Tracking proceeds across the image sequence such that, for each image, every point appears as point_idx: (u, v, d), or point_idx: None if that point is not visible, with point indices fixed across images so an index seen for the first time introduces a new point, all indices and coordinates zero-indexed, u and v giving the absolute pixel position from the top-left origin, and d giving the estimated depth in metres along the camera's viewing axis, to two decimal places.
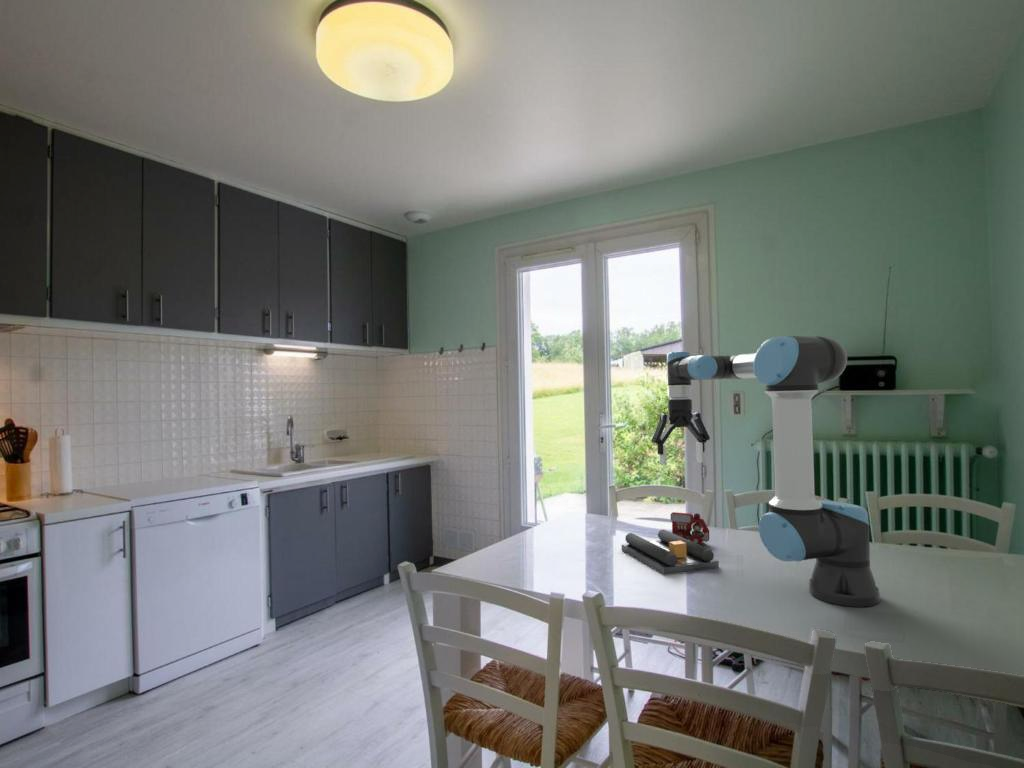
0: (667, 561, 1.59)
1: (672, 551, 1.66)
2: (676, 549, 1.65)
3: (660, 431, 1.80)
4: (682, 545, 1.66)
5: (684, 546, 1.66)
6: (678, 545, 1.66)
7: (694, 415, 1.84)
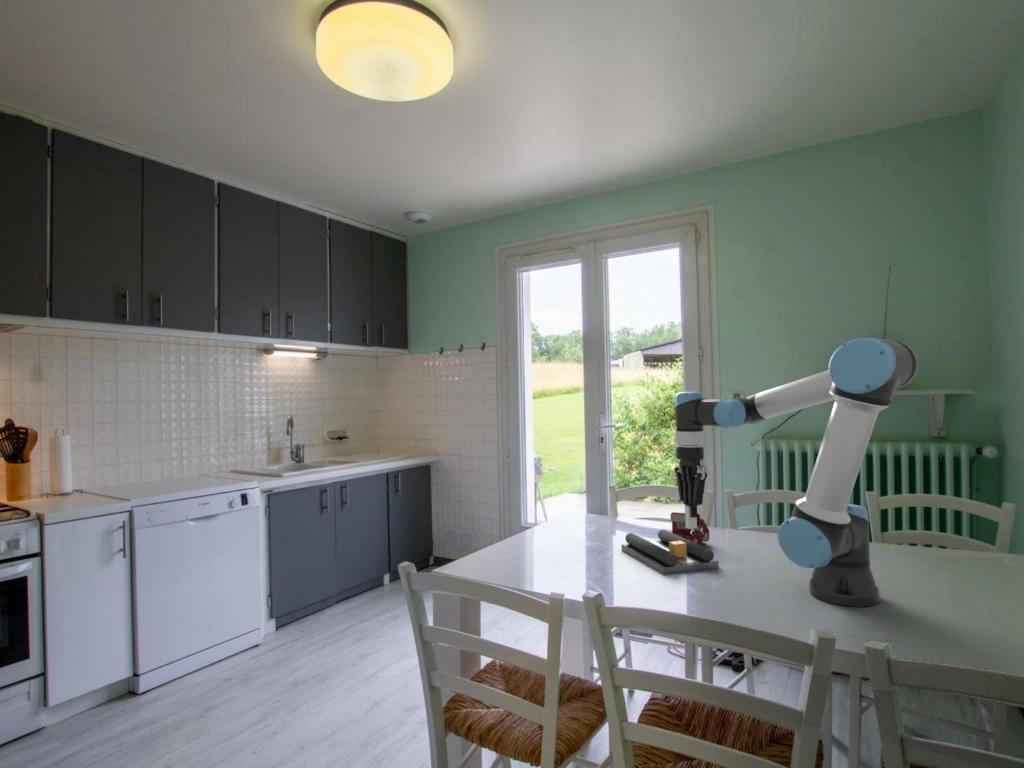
0: (667, 561, 1.59)
1: (672, 551, 1.66)
2: (676, 549, 1.65)
3: (679, 487, 1.63)
4: (682, 545, 1.66)
5: (684, 546, 1.66)
6: (678, 545, 1.66)
7: (698, 472, 1.55)
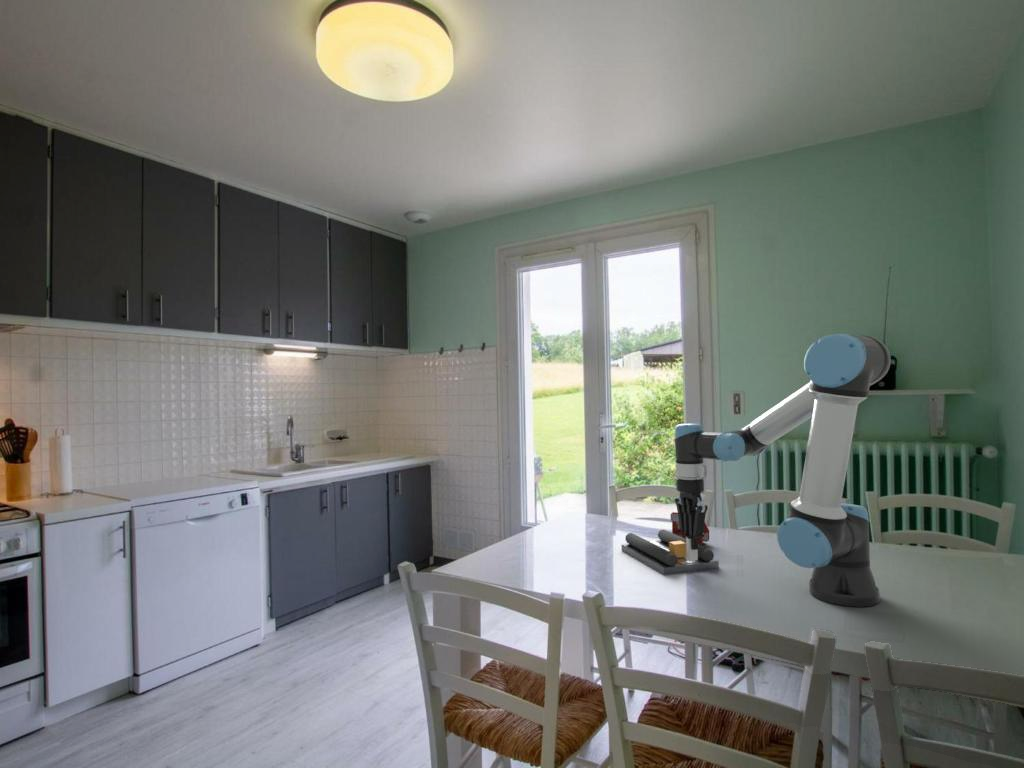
0: (667, 561, 1.59)
1: (672, 551, 1.66)
2: (676, 549, 1.65)
3: (679, 518, 1.64)
4: (682, 545, 1.66)
5: (684, 546, 1.66)
6: (678, 545, 1.66)
7: (698, 505, 1.56)
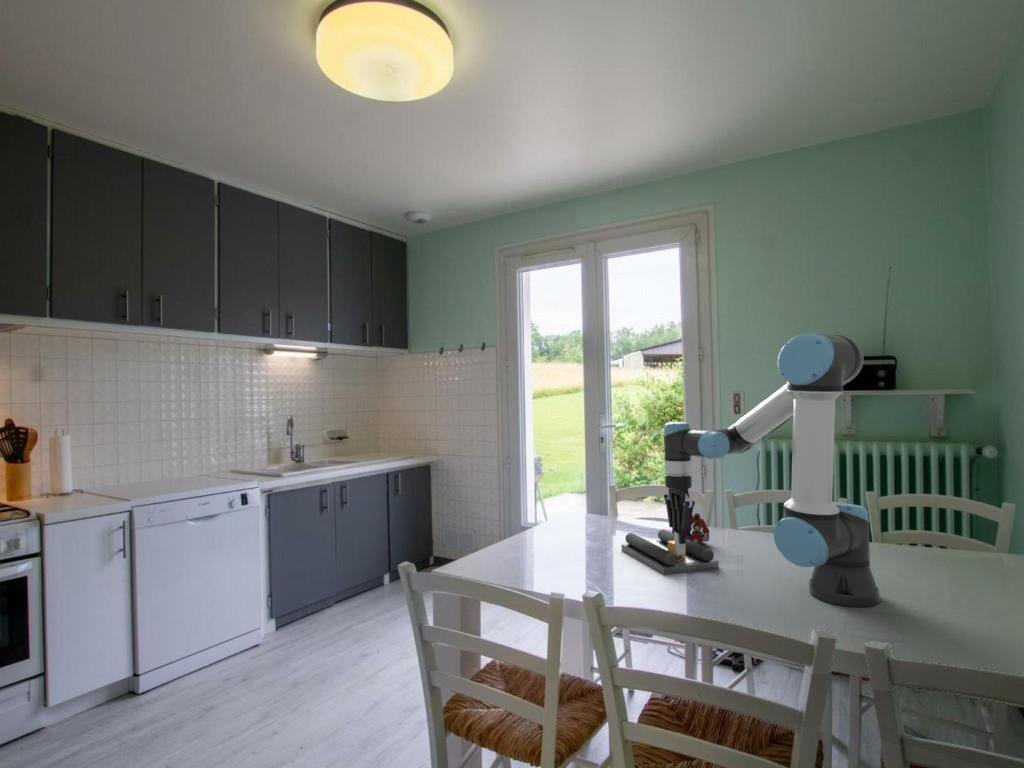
0: (667, 561, 1.59)
1: (671, 550, 1.67)
2: (674, 548, 1.66)
3: (668, 514, 1.69)
4: None
5: None
6: None
7: (686, 500, 1.61)
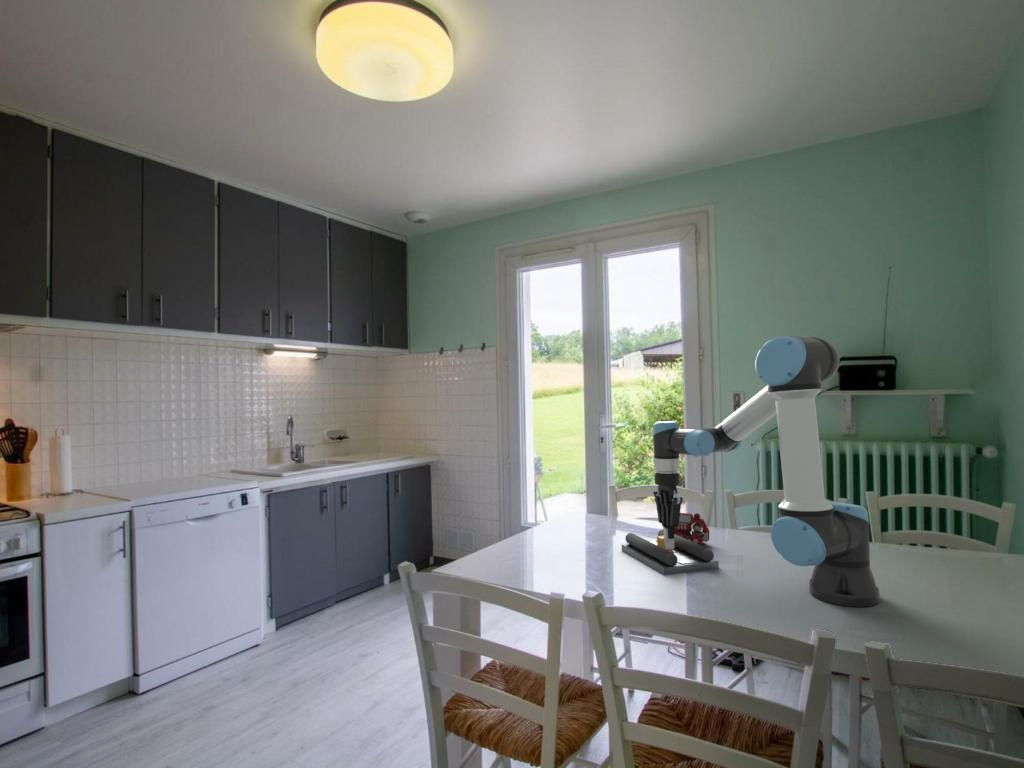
0: (667, 561, 1.59)
1: (660, 545, 1.73)
2: (663, 543, 1.72)
3: (657, 510, 1.75)
4: None
5: None
6: None
7: (674, 497, 1.67)
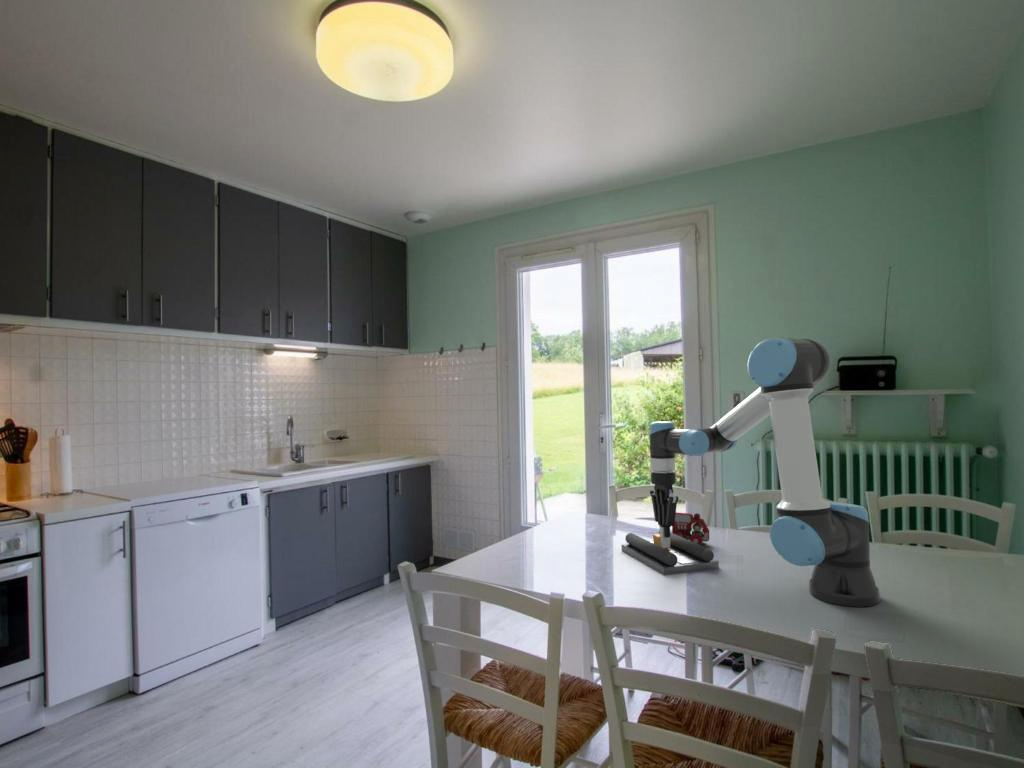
0: (667, 561, 1.59)
1: (656, 543, 1.75)
2: (659, 541, 1.74)
3: (654, 509, 1.78)
4: None
5: None
6: None
7: (670, 496, 1.69)
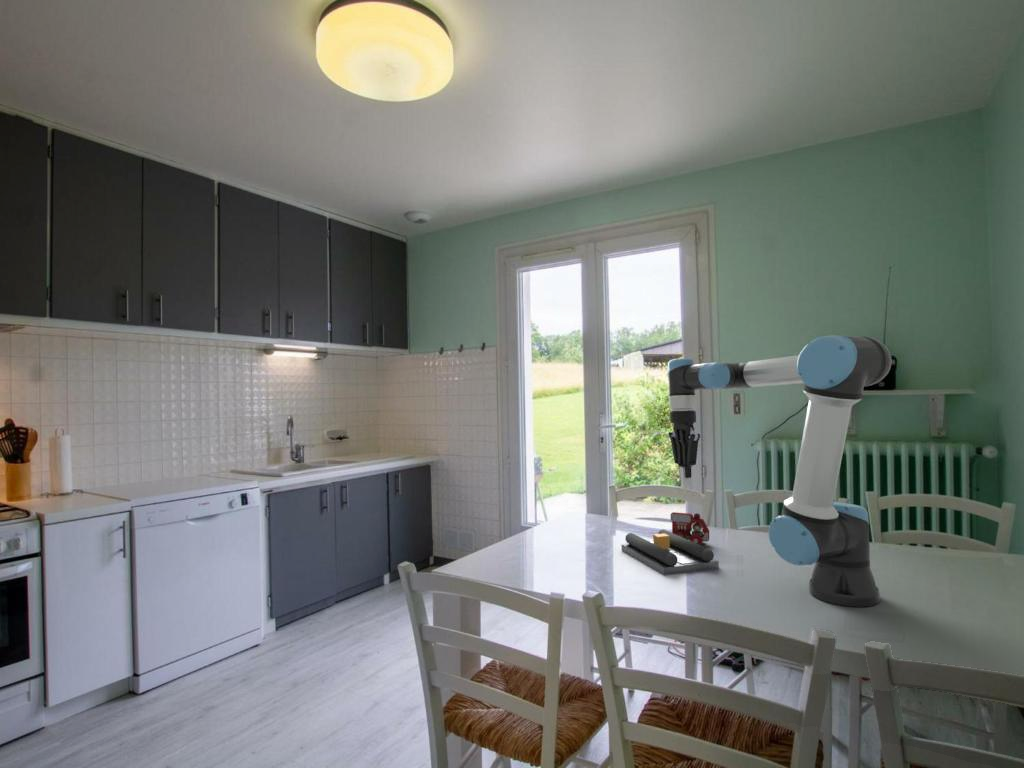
0: (667, 561, 1.59)
1: (656, 543, 1.75)
2: (659, 541, 1.74)
3: (673, 450, 1.72)
4: (665, 537, 1.75)
5: (667, 538, 1.75)
6: (662, 537, 1.74)
7: (691, 434, 1.64)
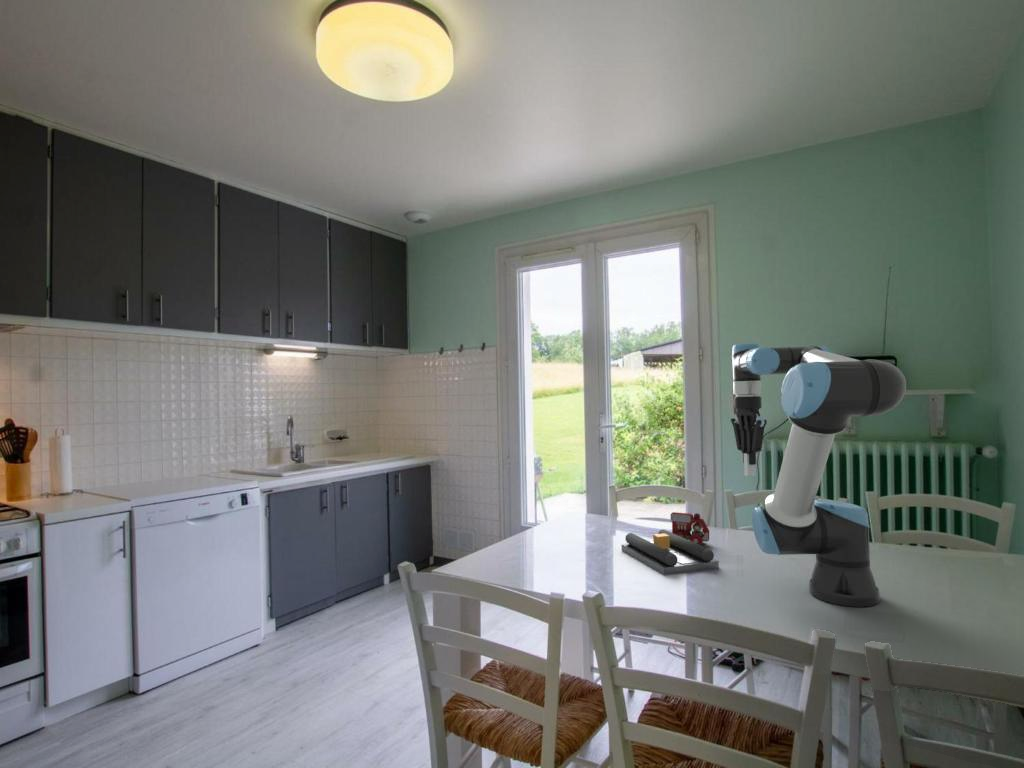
0: (667, 561, 1.59)
1: (656, 543, 1.75)
2: (659, 541, 1.74)
3: (736, 437, 1.69)
4: (665, 537, 1.75)
5: (667, 538, 1.75)
6: (662, 537, 1.74)
7: None
